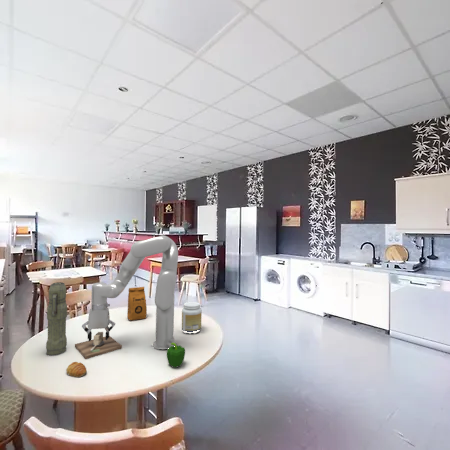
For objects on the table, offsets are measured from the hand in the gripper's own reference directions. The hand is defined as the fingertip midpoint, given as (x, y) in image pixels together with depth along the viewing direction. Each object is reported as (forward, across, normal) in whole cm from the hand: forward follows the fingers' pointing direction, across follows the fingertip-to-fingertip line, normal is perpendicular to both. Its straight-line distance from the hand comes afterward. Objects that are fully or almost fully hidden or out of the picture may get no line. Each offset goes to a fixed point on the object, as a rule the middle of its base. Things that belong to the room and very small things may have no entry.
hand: (98, 339), depth 148 cm
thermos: (+5, +20, +1) cm, 20 cm away
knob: (+3, +1, +3) cm, 4 cm away
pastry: (+5, +3, +24) cm, 25 cm away
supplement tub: (+5, -51, -15) cm, 53 cm away
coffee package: (+5, -16, -44) cm, 47 cm away
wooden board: (+4, 0, 0) cm, 4 cm away
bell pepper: (+5, -40, +25) cm, 47 cm away
